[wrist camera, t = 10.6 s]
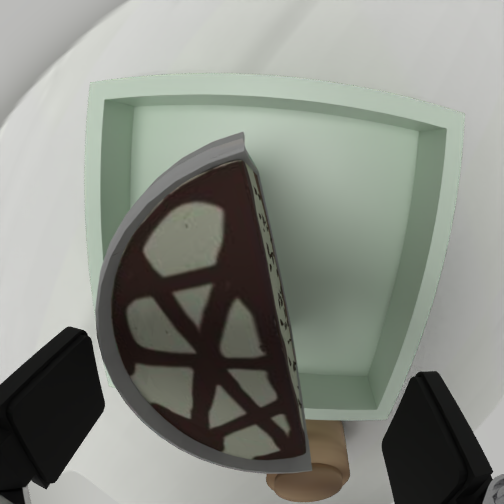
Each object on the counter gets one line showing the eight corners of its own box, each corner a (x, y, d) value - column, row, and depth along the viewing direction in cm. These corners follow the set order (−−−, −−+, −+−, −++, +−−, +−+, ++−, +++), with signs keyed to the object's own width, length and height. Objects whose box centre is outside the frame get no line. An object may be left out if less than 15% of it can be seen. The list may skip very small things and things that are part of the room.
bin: (374, 381, 21) (386, 419, 17) (131, 353, 22) (108, 386, 18) (430, 119, 15) (464, 113, 11) (125, 92, 16) (90, 82, 13)
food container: (143, 171, 17) (25, 196, 7) (252, 143, 16) (238, 123, 7) (201, 360, 20) (167, 486, 11) (295, 345, 20) (313, 477, 10)
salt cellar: (333, 452, 24) (337, 504, 18) (266, 449, 24) (261, 503, 18) (351, 409, 22) (362, 466, 16) (274, 405, 22) (270, 465, 17)
